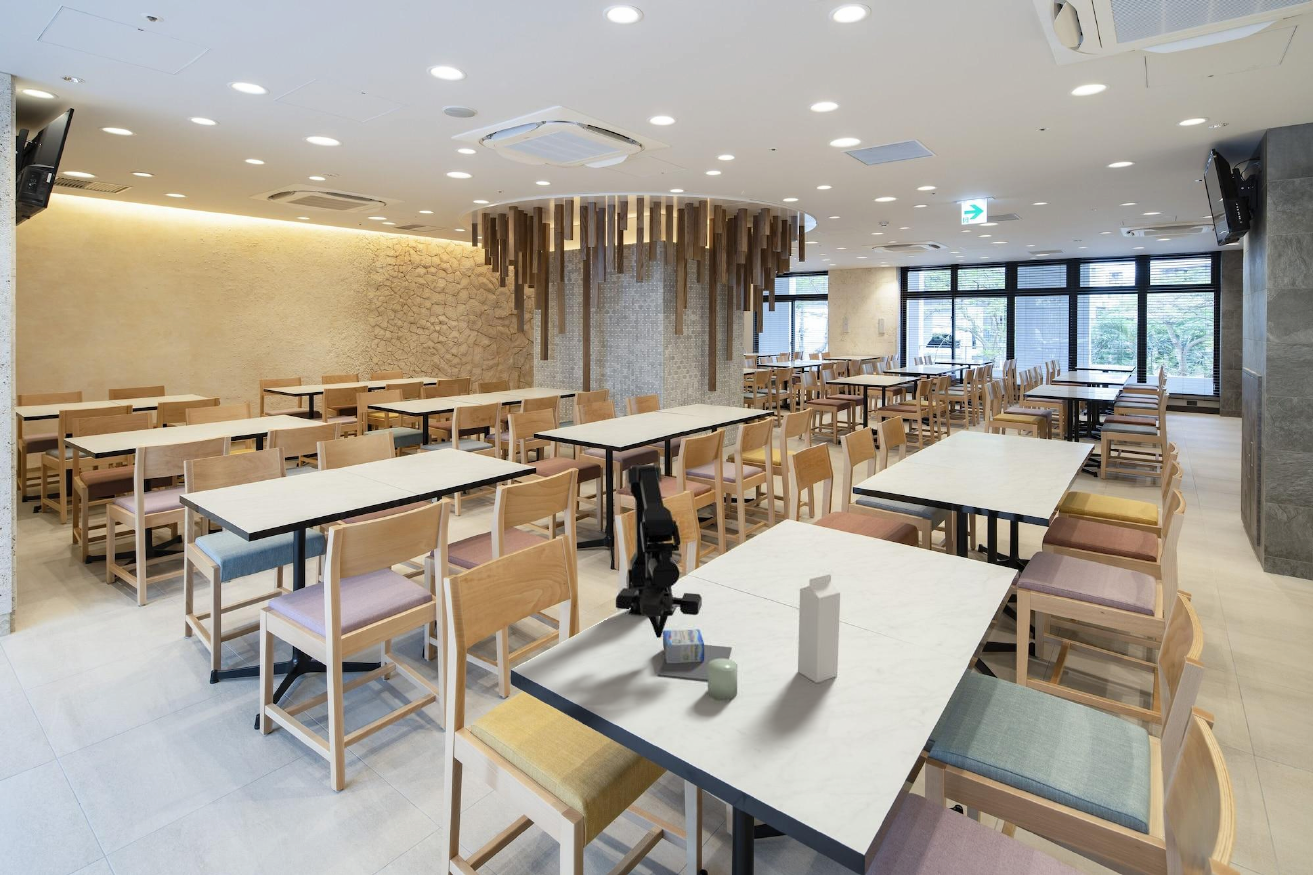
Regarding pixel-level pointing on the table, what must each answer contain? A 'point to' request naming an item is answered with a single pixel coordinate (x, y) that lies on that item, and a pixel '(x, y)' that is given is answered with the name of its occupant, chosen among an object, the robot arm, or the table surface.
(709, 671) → the pale green cylinder
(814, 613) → the milk
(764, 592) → the table surface
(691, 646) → the medicine box
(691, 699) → the table surface
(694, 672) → the mat
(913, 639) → the table surface
